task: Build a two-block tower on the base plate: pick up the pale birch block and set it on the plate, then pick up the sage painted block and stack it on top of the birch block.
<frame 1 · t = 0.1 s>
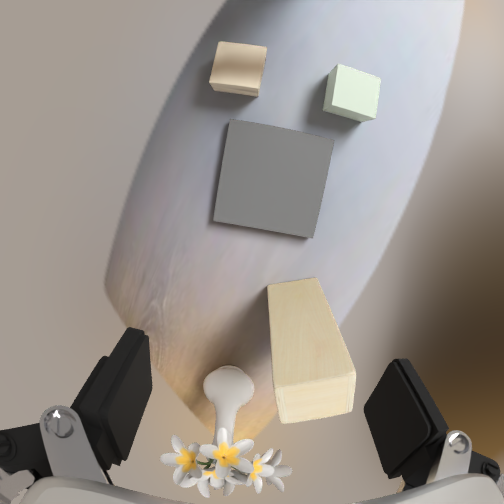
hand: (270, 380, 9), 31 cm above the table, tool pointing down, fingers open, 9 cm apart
flower vase: (233, 374, 49), on the table
base plate: (272, 178, 37), on the table
sage block: (345, 97, 33), on the table
toy refrigerator: (293, 300, 44), on the table
birch block: (240, 74, 32), on the table
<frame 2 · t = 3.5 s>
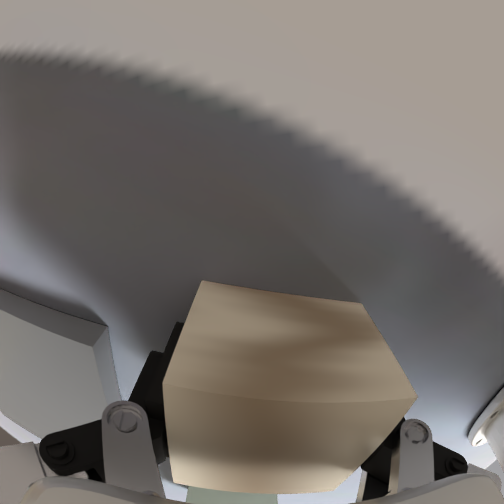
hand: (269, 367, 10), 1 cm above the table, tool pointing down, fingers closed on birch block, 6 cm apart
base plate: (36, 382, 12), on the table
sage block: (230, 484, 16), on the table
birch block: (269, 356, 11), on the table, touching gripper
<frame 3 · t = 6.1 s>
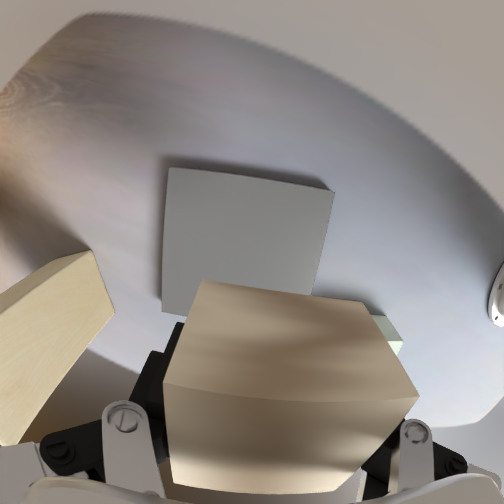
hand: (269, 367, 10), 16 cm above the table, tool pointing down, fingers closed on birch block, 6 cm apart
base plate: (240, 252, 26), on the table
sage block: (355, 336, 29), on the table
toy refrigerator: (81, 284, 28), on the table
birch block: (269, 356, 11), point 16 cm above the table, touching gripper
when the fingers open (4 cm above the table, at t = 9.1 s): birch block drops 1 cm, resting on base plate.
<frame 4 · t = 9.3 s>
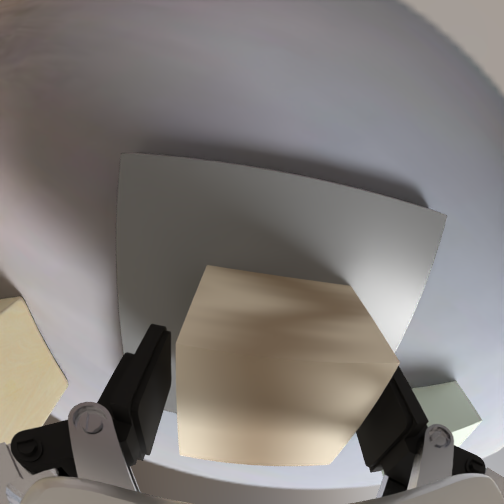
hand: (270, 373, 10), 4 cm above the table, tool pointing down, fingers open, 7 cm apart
base plate: (266, 319, 13), on the table
sage block: (413, 409, 17), on the table
toy refrigerator: (21, 339, 15), on the table
birch block: (268, 336, 12), point 1 cm above the table, touching base plate
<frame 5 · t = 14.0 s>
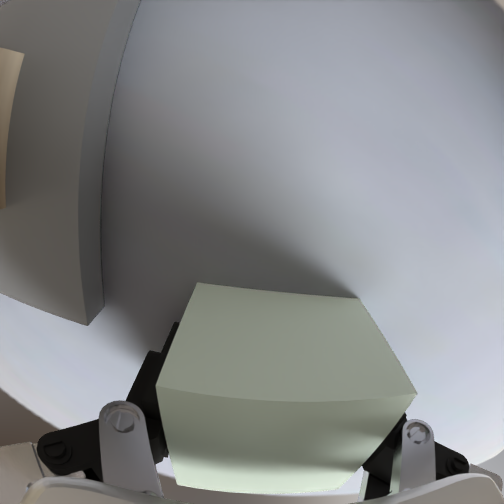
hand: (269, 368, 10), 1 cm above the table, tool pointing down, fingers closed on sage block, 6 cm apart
sage block: (269, 356, 11), on the table, touching gripper
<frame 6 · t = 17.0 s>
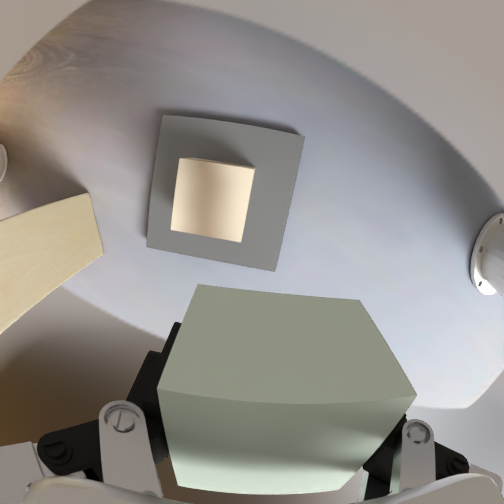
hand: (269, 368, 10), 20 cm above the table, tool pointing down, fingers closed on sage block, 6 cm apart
flower vase: (0, 167, 27), on the table
base plate: (221, 190, 28), on the table
sage block: (269, 357, 11), point 20 cm above the table, touching gripper
toy refrigerator: (76, 227, 30), on the table
birch block: (219, 192, 26), point 1 cm above the table, touching base plate
when the fingers open (8 cm above the table, at t = 20.1 s): sage block stays where it is, resting on birch block.
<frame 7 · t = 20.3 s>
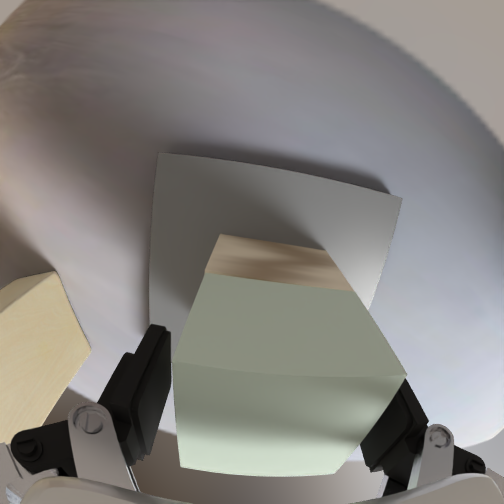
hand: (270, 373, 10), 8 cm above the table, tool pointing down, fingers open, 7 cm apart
base plate: (263, 280, 18), on the table
sage block: (270, 344, 12), point 6 cm above the table, touching birch block
toy refrigerator: (49, 312, 19), on the table
birch block: (264, 290, 16), point 1 cm above the table, touching base plate, sage block
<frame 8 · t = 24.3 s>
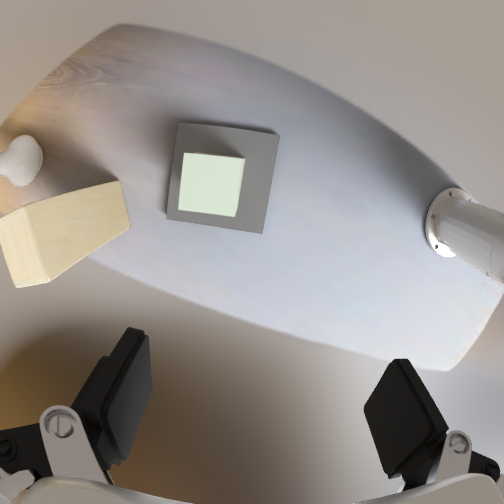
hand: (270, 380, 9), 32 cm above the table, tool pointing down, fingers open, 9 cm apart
flower vase: (34, 162, 37), on the table
base plate: (221, 176, 38), on the table
sage block: (215, 180, 32), point 6 cm above the table, touching birch block
toy refrigerator: (107, 208, 40), on the table
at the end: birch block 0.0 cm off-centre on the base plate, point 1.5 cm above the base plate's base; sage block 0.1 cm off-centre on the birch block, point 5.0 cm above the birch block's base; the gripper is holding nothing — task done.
